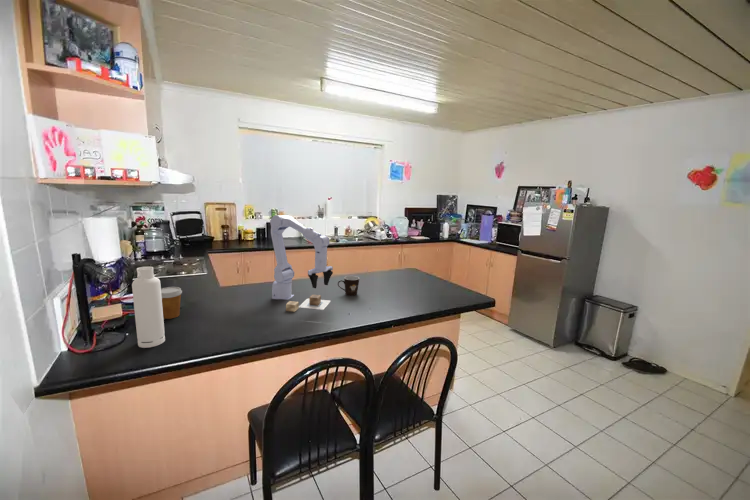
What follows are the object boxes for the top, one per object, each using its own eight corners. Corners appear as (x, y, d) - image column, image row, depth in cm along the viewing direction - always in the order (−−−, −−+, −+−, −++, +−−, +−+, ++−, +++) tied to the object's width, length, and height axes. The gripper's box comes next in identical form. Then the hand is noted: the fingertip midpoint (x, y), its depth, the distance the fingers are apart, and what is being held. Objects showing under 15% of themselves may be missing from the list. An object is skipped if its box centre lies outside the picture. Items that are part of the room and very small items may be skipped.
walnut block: (309, 304, 156) (309, 297, 155) (312, 301, 160) (312, 294, 159) (318, 305, 155) (318, 298, 154) (320, 302, 160) (320, 295, 159)
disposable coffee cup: (188, 314, 139) (187, 288, 137) (168, 322, 130) (166, 294, 128) (173, 310, 142) (171, 285, 140) (152, 318, 133) (150, 291, 131)
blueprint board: (298, 308, 152) (298, 306, 152) (307, 299, 165) (307, 298, 165) (323, 310, 151) (323, 309, 150) (330, 301, 163) (331, 300, 163)
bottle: (133, 343, 112) (126, 268, 107) (158, 335, 119) (152, 264, 114) (144, 349, 108) (136, 272, 103) (169, 341, 115) (163, 268, 110)
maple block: (285, 312, 147) (285, 304, 146) (289, 308, 151) (289, 301, 151) (295, 313, 147) (295, 305, 146) (298, 309, 151) (298, 301, 150)
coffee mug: (359, 293, 179) (360, 276, 177) (357, 298, 171) (358, 280, 169) (340, 291, 180) (340, 274, 178) (336, 296, 172) (337, 279, 170)
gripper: (314, 263, 145) (314, 291, 148) (337, 259, 156) (336, 285, 159) (305, 260, 149) (304, 287, 152) (327, 256, 160) (327, 282, 163)
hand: (320, 286), depth 156 cm, fingers open, 7 cm apart
